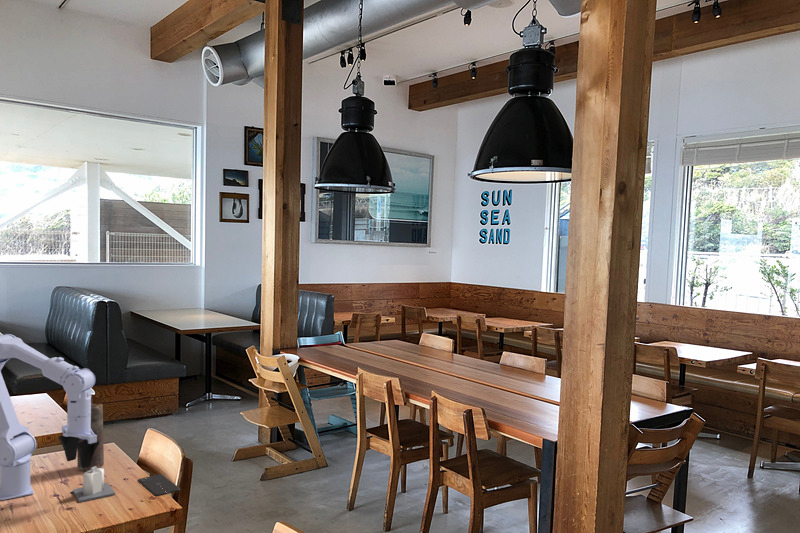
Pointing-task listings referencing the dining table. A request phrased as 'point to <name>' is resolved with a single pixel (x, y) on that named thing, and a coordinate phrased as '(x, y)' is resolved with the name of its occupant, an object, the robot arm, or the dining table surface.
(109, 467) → the dining table surface
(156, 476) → the smartphone
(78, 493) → the slate coaster
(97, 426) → the candle
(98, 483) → the charger plug
